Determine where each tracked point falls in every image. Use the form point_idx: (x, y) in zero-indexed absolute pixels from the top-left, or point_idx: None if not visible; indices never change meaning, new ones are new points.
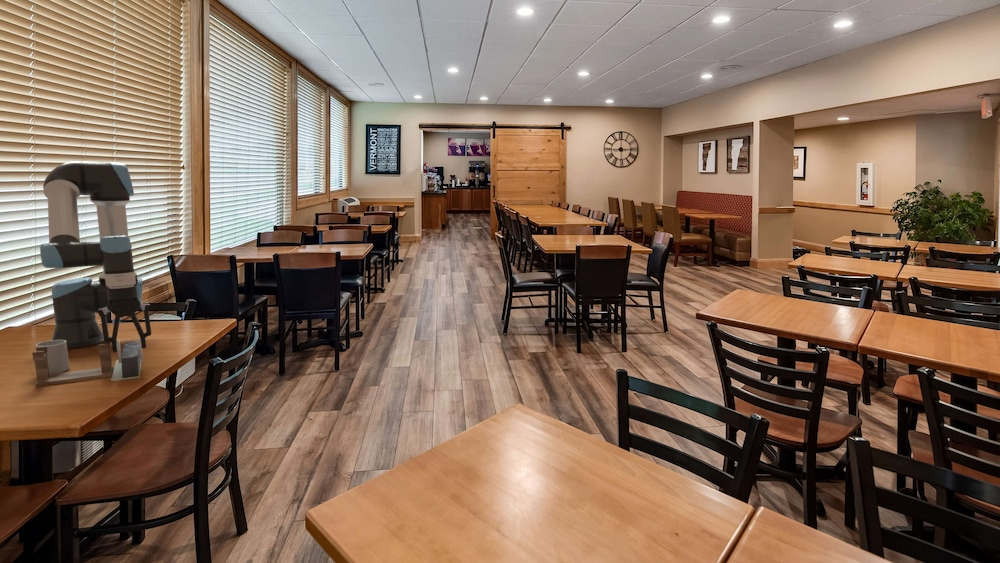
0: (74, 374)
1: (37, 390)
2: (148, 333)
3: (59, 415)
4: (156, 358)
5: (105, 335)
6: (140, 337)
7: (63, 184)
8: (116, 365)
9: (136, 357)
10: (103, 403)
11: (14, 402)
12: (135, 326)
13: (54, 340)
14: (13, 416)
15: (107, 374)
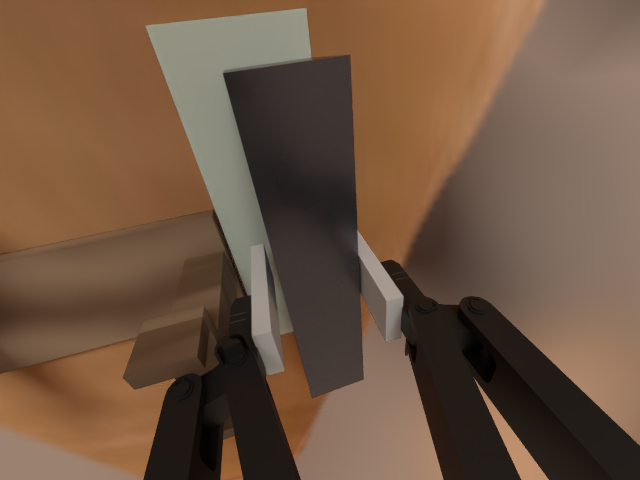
0: (83, 303)
1: (46, 386)
2: (466, 352)
3: (236, 459)
4: (384, 61)
5: (203, 462)
6: (407, 345)
7: None
8: (210, 172)
9: (359, 378)
10: (293, 425)
11: (65, 441)
12: (436, 445)
13: None
14: (144, 473)
15: None
